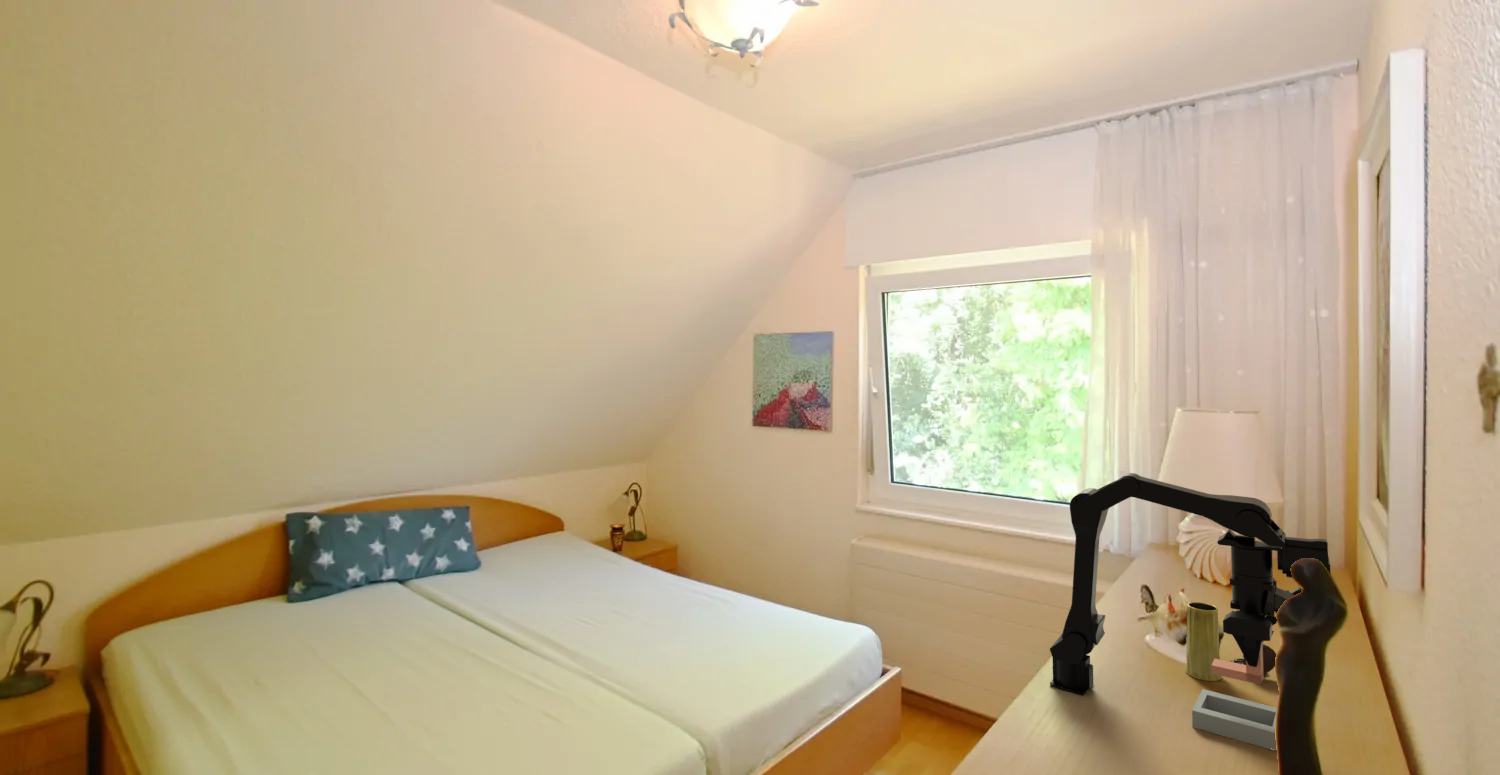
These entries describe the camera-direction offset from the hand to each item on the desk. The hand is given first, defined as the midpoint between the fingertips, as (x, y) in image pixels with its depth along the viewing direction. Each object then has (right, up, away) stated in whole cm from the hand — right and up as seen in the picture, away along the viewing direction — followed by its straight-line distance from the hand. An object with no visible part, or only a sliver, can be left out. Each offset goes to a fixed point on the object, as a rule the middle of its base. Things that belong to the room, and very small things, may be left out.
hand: (1254, 662), depth 115 cm
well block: (-1, -12, +2) cm, 12 cm away
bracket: (-2, -3, +2) cm, 4 cm away
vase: (+6, -12, +21) cm, 25 cm away
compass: (+15, -11, +22) cm, 29 cm away
